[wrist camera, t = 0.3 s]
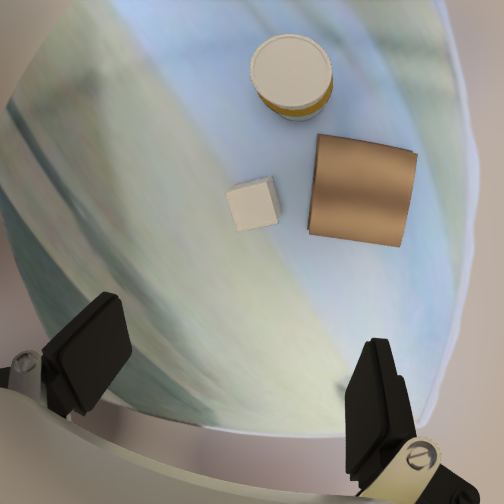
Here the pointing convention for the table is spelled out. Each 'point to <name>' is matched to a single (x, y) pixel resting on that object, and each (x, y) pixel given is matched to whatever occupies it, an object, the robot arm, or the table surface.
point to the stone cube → (254, 204)
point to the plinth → (361, 190)
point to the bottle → (292, 76)
